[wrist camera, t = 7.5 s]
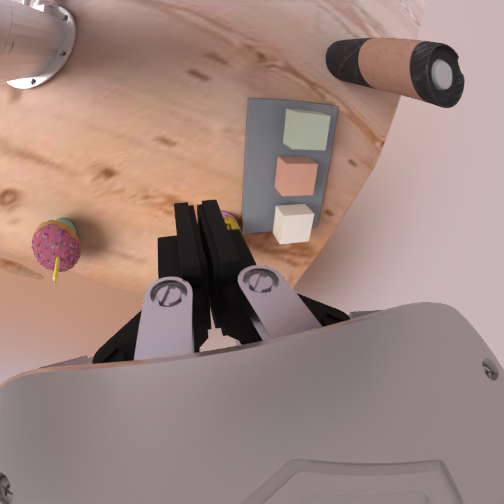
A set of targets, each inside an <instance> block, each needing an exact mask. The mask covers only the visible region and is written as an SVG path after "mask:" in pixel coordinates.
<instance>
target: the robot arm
mask: <svg viewBox="0 0 504 504" xmlns="http://www.w3.org/2000/svg"><path fill="white" fill-rule="evenodd" d="M30 1H31V0H22V3H18V2H15V1H12V0H0V83H2V82H7V83H8V84H9V85H11V86H12V87H15V88H18V89H28V88H33V87H36V86H39V85H41V84H43V83H45V82H46V81H48V80H49V79H51V78H52V77H53V76H54V75H55V74H56V73H57V72H58V71H59V70H60V69H61V68H62V66H63V65H64V64H65V62H66V61H67V59H68V58H69V56H70V53H71V51H72V49H73V46H74V43H75V38H76V24H75V20H74V18H73V16H72V14H71V13H70V12H69V11H68V10H66V9H65V8H63V7H60V6H57V5H48V4H49V1H47V0H35V3H34V4H33V5H32V7H30V6H29V5H30ZM66 18H68V19H67V20H66ZM65 52H66V55H65V56H64V53H65ZM35 80H36V83H35ZM174 208H175V220H176V230H177V236H168V237H160V238H158V276H159V279H158V280H156V281H154V282H153V283H151V284H150V285H149V287H148V288H147V290H146V292H145V296H144V302H143V307H142V310H141V311H140V312H139V313H138V314H137V315H136V316H135V317H134V318H132V319H131V320H130V321H129V322H128V323H127V324H126V325H125V326H124V327H122V328H121V329H120V330H119V331H118V332H117V333H116V334H115V335H114V336H113V337H112V338H110V339H109V340H108V341H107V342H106V343H105V344H104V345H103V346H102V347H101V348H100V349H99V350H98V351H97V352H96V354H95V355H94V357H92V358H88V357H87V355H86V356H83V357H79V358H75V359H71V360H68V361H64V362H60V363H56V364H52V365H49V366H45V367H41V368H38V369H35V370H31V371H27V372H23V373H21V374H18V375H16V376H14V377H11V378H9V379H7V380H6V381H4V382H3V383H1V384H0V504H504V370H503V368H502V366H501V365H500V364H499V362H498V360H497V359H496V357H495V356H494V354H493V353H492V351H491V350H490V348H489V347H488V346H487V344H486V343H485V342H484V340H483V339H482V337H481V336H480V335H479V334H478V332H477V331H476V330H475V329H474V328H473V326H472V325H471V324H470V323H469V322H468V321H467V319H466V318H464V317H463V316H462V315H461V314H460V313H459V312H458V311H457V310H456V309H454V308H453V307H451V306H448V305H445V304H441V303H431V302H421V303H412V304H406V305H402V306H398V307H394V308H390V309H386V310H376V311H359V312H350V314H349V315H347V314H346V313H344V312H342V311H340V310H338V309H336V308H333V307H330V306H328V305H325V304H323V303H320V302H317V301H315V300H312V299H310V298H307V297H305V296H302V295H300V294H297V293H296V292H295V291H294V290H293V289H292V287H291V286H290V285H289V283H288V282H287V281H286V280H285V278H284V277H283V276H282V275H281V274H280V273H279V272H278V271H277V270H275V269H273V268H271V267H268V266H263V265H256V263H255V261H254V258H253V256H252V254H251V252H250V250H249V248H248V246H247V244H246V241H245V239H244V237H243V235H242V233H241V231H240V229H231V230H228V228H227V226H226V223H225V221H224V218H223V216H222V213H221V211H220V208H219V206H218V203H217V201H216V200H206V201H202V204H201V205H197V216H198V224H197V220H196V215H195V211H194V206H193V205H191V206H188V202H185V203H176V204H174ZM210 308H211V312H212V316H213V320H214V324H215V328H221V330H222V334H223V336H226V335H228V336H230V337H232V338H234V339H236V345H237V346H234V347H228V348H223V349H216V350H210V351H204V352H200V347H201V345H202V344H203V343H204V342H205V341H206V340H207V339H208V330H209V329H211V317H210Z"/></svg>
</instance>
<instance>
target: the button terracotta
mask: <svg viewBox="0 0 504 504" xmlns="http://www.w3.org/2000/svg"><path fill="white" fill-rule="evenodd" d="M317 168H318V164H317V163H316V162H315V161H313V160H312V159H310V158H309V157H278V158H277V168H276V177H275V188H276V190H277V191H278V192H279V193H280V194H281V195H282V196H299V195H313V192H314V186H315V180H316V174H317Z"/></svg>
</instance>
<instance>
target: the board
mask: <svg viewBox="0 0 504 504" xmlns="http://www.w3.org/2000/svg"><path fill="white" fill-rule="evenodd" d="M286 109H297V110H307V111H317V112H321V113H324V114H327V115H329V116H331V117H330V124H329V131H328V138H327V144H326V150H301V149H291V148H290V147H288V146H287V145H285V144H284V143H283V137H284V127H285V117H286ZM337 112H338V107H337V106H334V105H327V104H320V103H312V102H303V101H293V100H281V99H266V98H248V105H247V121H246V138H245V156H244V174H243V193H242V214H241V232H242V234H252V233H261V232H271V231H273V227H274V218H275V210H276V206H279V205H295V204H306V205H307V207H308V208H309V209H310V210H311V211H312V212H313V213H314V218H313V223H312V227H317V225H318V220H319V215H320V211H321V206H322V201H323V195H324V190H325V185H326V180H327V174H328V168H329V163H330V157H331V151H332V145H333V139H334V132H335V126H336V119H337ZM278 157H309V158H310V159H312V160H313V161H315V162H316V163H317V164H318V168H317V174H316V180H315V186H314V192H313V195H299V196H282V195H281V194H280V193H279V192H278V191H277V190H276V188H275V177H276V168H277V158H278Z"/></svg>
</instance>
